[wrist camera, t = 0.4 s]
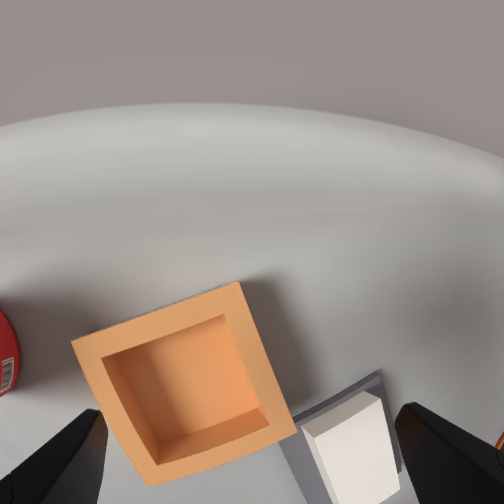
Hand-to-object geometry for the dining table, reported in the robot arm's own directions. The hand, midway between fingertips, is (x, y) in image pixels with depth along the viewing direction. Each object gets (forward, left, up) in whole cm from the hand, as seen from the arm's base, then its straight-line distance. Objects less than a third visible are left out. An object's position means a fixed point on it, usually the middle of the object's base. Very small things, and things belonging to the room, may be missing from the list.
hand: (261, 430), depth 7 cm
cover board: (-15, -7, -13) cm, 21 cm away
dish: (-2, +3, -14) cm, 15 cm away
